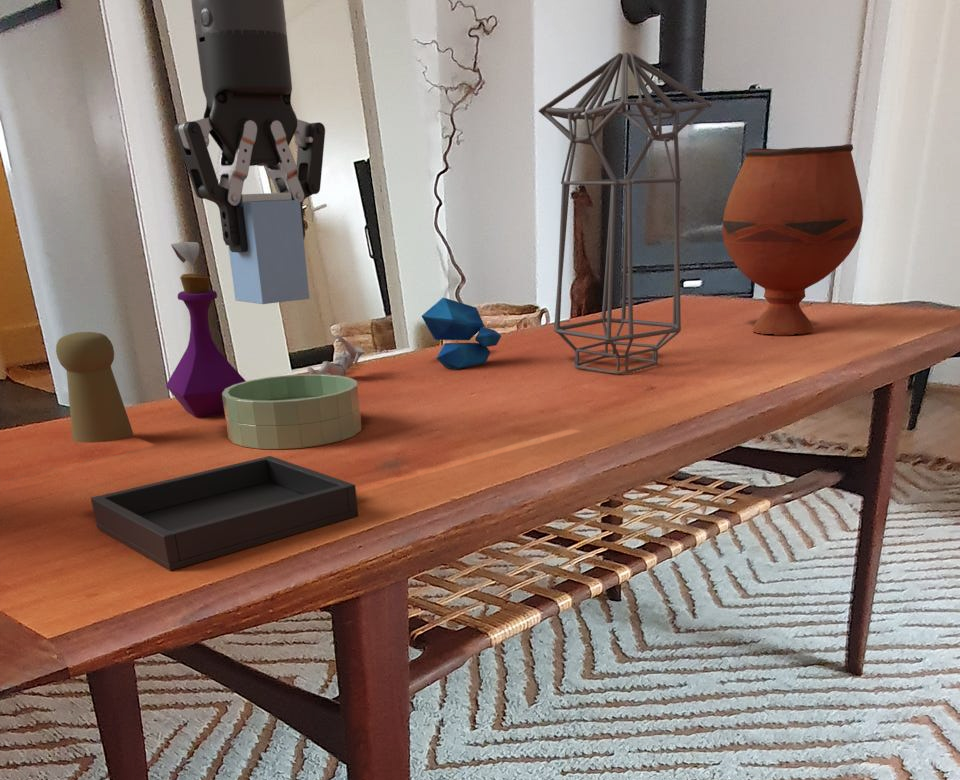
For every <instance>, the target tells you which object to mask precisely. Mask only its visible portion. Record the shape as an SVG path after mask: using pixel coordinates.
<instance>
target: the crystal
mask: <svg viewBox="0 0 960 780" xmlns="http://www.w3.org/2000/svg"><path fill="white" fill-rule="evenodd" d="M421 318H422V320H423V322H424V324H425V325H426V327H427V329H428V331H429V332H430V335H431V336H432V339H433V340H435V341H470V340H472V338H473V337H475V341H476V342H445V343H444V344H443V345H442V348H441V349H440V351H439V352H438V355H437V356H436V359H437V361H438V362H439V363H440V364H441V365H442V366H443V367H444V368H445V367H446V369H451V368H452V369H453V370H462V369H461V368H463V369H467V368H471V367H470V366H472V367H475V366H474V365H476V366H479V365H478V364H481V365H483V364H482V363H485V364H486V363H487V361H488V359H489V356H490V354H491V351H490V349H489V348H488V347H494V346H497V345H498V343H499V342H500V340H501V338H502V335H501V334H500V333H499V332H498V331H496V330H495V329H492V328H489V327H485V324H484V322H483V319H482V317H481V315H480V313H479V310H478V308H477V307H476V306H472V305H469V304H466V303H464V302H459V301H456V300H453V299H450V298H447V297H441V298H440V299H439V300H438V301H437V302H436V303H434V305H432V306H430V308H428V310H427V311H425V312H424V313H423V314H422V315H421ZM475 335H476V336H475ZM466 367H467V368H466ZM452 369H451V370H452Z"/></svg>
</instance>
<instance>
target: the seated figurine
mask: <svg viewBox="0 0 960 780" xmlns="http://www.w3.org/2000/svg"><path fill="white" fill-rule="evenodd" d="M333 338H336V339H337V340H335V343H342V345H343V347H344V350H343V351H342V352H340V353H339V354H338V355H336V356H335V358H334V359H333V361H332V362H330V361H329V360H326V361H325V360H324V361H322V363H321V365H320V368H319V370H316V369H314V368H313V367H311V366H309V367H308V368H307V372H308V374H327V375H339V376H344V377H346V375H347V372H348V371H349V369H350V368H351V367H353V366H354V364H355V365H357V364H358V361H359V359H360V357H361V356H363V355H364V354H365V353H366V351H365V350H364V349H362V348H361V347H358V346H355V345H353V344H351V343H350V342H349V341H348V340H346V339H345V338H343V337H342V336H339V335H334V336H333Z"/></svg>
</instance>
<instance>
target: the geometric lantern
mask: <svg viewBox="0 0 960 780" xmlns="http://www.w3.org/2000/svg"><path fill="white" fill-rule="evenodd" d="M628 67H629V69H630V71H631V73H632V75H633V77H634V79H635V84H636V89H637V94H638V95H637V96H638V98H637V99H636V101H628V89H629V88H628V83H629V82H628V80H629V79H628V75H629V72H628V71H629V69H628ZM620 71H621V81H620V82H621V86H620V87H621V88H620V100H619V101H615V96H616V91H617V88H618V87H617V86H618V82H619V77H620ZM646 72H648V73H649V74H651V75H652V76H654V77H656V78H657V79H659V80H661V81H662V82H664V83H666V84H668V85H669V86H671V87H672V88H674V89H676V90H677V91H679V92H681V93H682V94H684V95H686V96H687V97H689V98H691V99H692V100H693V101H695V102H697V103H692V104H688V105H683V106H679V107H677V106H676V105H675V104H674V102H673V101H672V100H671V99H670V98H669V97H668V95H667V94H666V93H665V92H663V90H662V89H661V88H660V87H659V85H657V83H655V82H654V80H653V79H652V78H651V77H650V76H649V74H647V73H646ZM597 77H598V78H597ZM596 78H597V79H596ZM614 78H615V80H614ZM594 79H596V80H595V81H594ZM592 81H594V82H593V84H591V86H590V87H589V89H588V90H587V91H586V92H585V94H583V96H582V97H581V98H580V100H578V103H576V105H575V106H574V107H568V108H563V107H555V106H556V105H557V104H559V103H560V102H562V101H563V100H564V99H566V98H568V97H569V96H570V95H572V94H573V93H575V92H576V91H578V90H580V89H581V88H582V87H584V86H586V85H587V84H589V83H590V82H592ZM613 81H614V86H613V91H612V96H611V101H610V103H609V104H605V105H603V103H604V101H605V98H606V96H607V94H608V92H609V90H610V88H611V85H612V83H613ZM645 83H646V84H645ZM646 85H647V86H648V87H649V89H651V91H652V92H653V93H654V94H655V96H656V97H657V98H658V99H659V101H660V102H661V103H662V104H663V105H664V106H657V104H656V102H655V100H654V99H653V97H652V95H651V94H650V92H649V90H648V88H647V86H646ZM642 95H643V97H644V98H645V99H643V97H642ZM595 105H596V106H595ZM627 106H636V107H637V108H638V110H639V111H638V110H630V109H627ZM712 106H713V103H711V102H710V101H708V100H706V99H705V98H703V97H702V96H700V95H699V94H697V93H696V92H694V91H692V90H691V89H689V88H688V87H686V86H685V85H683V84H682V83H680V82H678V81H677V80H675V79H674V78H673V77H672V76H670V75H668V74H666V73H664V72H663V71H661V70H660V69H658V68H657V67H656V66H654V65H652V64H650V63H649V62H648V61H646V60H645V59H643V58H642V57H640V56H638V55H637V54H636V53H633V52H630V53H629V52H622V53H621V52H618V53H617V54H616V55H615V56H613V57H611V58H610V59H609V60H607V61H606V62H604V63H603V64H602V65H600V66H599V67H598V68H596V69H594V70H593V71H591V72H590V73H588V74H587V75H586V76H585V77H582V79H581V80H579V81H578V82H575V83H574V84H573V85H572V86H571V87H569V88H568V89H566V90H564V91H563V92H562V93H561V94H559V95H558V96H556V97H555V98H553V99H551V101H549V102H548V103H546V104H545V105H543V106H542V107H541V108H539V109H538V113H540V114H541V115H542V116H543V117H545V118H546V119H547V120H548V121H549V122H550V123H551V124H552V125H553V126H555V128H557V129H558V130H559V132H561V133H562V134H563V135H564V136H565V137H566V138H567V139H568V140H569V141H570V142H569V146H568V150H567V153H566V159H565V164H564V168H563V172H562V176H561V181H560V184H561V196H560V197H561V200H560V201H561V202H560V218H559V219H560V220H559V221H560V224H559V245H558V265H557V285H556V298H555V311H554V325H553V331H554V333H556V334H558V336H560V337H561V338H562V340H563V341H564V342H565V343H566V344H567V345H568V346H569V347H570V348H571V349H572V350H573V351H574V364H573V367H574V368H576V369H577V368H579V369H580V370H585V369H586V370H585V371H591V370H593V371H592V372H597V371H600V372H599V373H604V372H608V373H607V374H610V373H615V374H614V375H617V374H622V373H628V374H631V373H634V372H638V371H641V370H645V369H647V368H650V367H654V366H658V365H659V360H658V359H659V350H660V349H661V348H662V347H664V346H665V345H667V343H669V342H670V341H671V340H673V338H675V337H676V336H677V335H679V333H680V332H681V331H682V322H681V321H682V320H681V318H682V316H681V315H682V314H681V312H682V311H681V269H680V267H681V264H680V261H681V260H680V202H681V201H680V199H681V196H680V195H681V181H682V178H681V170H680V169H681V168H680V153H679V152H680V150H679V133H680V132H682V130H683V129H684V128H685V127H687V125H689V124H690V123H691V122H692V121H693V120H695V119H696V118H697V117H698V116H699V115H700V114H701V113H702V112H704V111H705V110H706V109H707V108H708V109H709V108H711V107H712ZM645 108H648V109H649V112H648V111H646V109H645ZM689 111H693V112H692V113H691V114H689V115H688V117H686V119H684V120H683V121H682V122H681V123H680V113H684V112H689ZM583 113H584V114H583ZM662 113H663V114H662ZM616 115H623V117H625V118H626V119H627V120H628V121H630V122H631V123H632V124H633V125H634V126H635V127H636V128H637V129H638V130H640V131H641V133H643V135H645V136H646V137H647V138H648V140H647V141H646V143H645V144H644V146H643V147H642V149H641V151H640V153H639V154H638V156H637V157H636V159H635V160H634V162H633V164H632V166H631V167H630V169H629V171H628V172H627V174H626V175H625V176H624V178H619V179H617V177H616V175H615V173H614V172H613V169H612V168H611V166H610V164H609V162H608V160H607V158H606V156H605V154H604V152H603V150H602V149H601V146H600V144H599V142H598V140H597V139H598V137H599V135H601V133H602V131H603V129H604V128H605V127H606V125H607V124H608V123H609V122H610V121H611V119H613V117H615V116H616ZM604 116H605V117H604ZM555 117H556V118H560V119H566V120H568V128H569V129H568V128H566V127H565V126H564V125H563V124H562V123H560V121H558V120H557V119H555ZM601 117H604V118H603V120H602V121H600V123H598V124H597V126H596V127H595V126H594V125H595V121H596V119H597V118H601ZM635 117H642V118H643V120H644V122H645V124H646V126H647V128H648V129H647V128H646V127H645V126H644V125H642V124H641V123H640V122H639V121H638V120H637V119H636V118H635ZM650 118H651V119H654V120H655V121H656V126H655V127H654V125H653V122H652V120H651V119H650ZM668 119H669V120H670V119H673V125H672V131H670V132H665V133H663V130H662V129H663V128H662V127H663V125H662V123H663V122H662V121H663V120H668ZM578 120H584V124H585V131H586V135H582V136H577V121H578ZM589 120H590V123H589ZM679 123H680V124H679ZM594 127H595V128H594ZM654 141H657V142H663V143H664V144H663V145H664V147H665V152H666V156H667V162H668V167H669V169H670V174H671V177H661V178H659V177H658V178H633V176H634V175H635V173H636V172H637V170H638V168H639V166H640V164H641V162H642V161H643V159H644V157H645V156H646V154H647V153H648V150H649V149H650V147H651V145H652V143H653V142H654ZM670 141H673V150H674V151H673V153H674V167H673V164H672V159H671V155H670V154H671V153H670V151H669V146H668V143H669V142H670ZM577 144H583V145H588V146H591V148H592V149H593V151H594V153H595V155H596V156H597V158H598V161H600V163H601V165H602V166H603V169H604V170H605V172H606V173H607V175H608V177H609V178H608V179H607V178H606V179H590V180H571V178H572V177H571V176H572V171H573V166H574V159H575V154H576V149H577ZM674 169H675V172H674ZM565 178H566V179H565ZM662 183H664V184H665V183H666V184H667V183H673V213H674V214H673V219H674V220H673V221H674V223H673V225H674V239H673V240H674V241H673V242H674V245H673V290H672V291H673V293H672V294H673V296H672V297H673V299H672V322H663V321H653V320H641V319H634V297H633V296H634V290H633V289H634V288H633V287H634V285H633V284H634V283H633V282H634V281H633V277H634V276H633V275H634V274H633V185H635V184H636V185H637V184H662ZM591 185H592V186H602V185H603V186H605V185H606V186H610V197H609V198H610V199H609V212H608V213H609V214H608V223H607V224H608V227H607V241H606V254H605V268H604V269H605V270H604V283H603V294H602V295H603V296H602V297H603V298H602V309H601V318H597V319H591V320H587V321H581V322H576V323H569V324H565V325H561V312H562V311H561V310H562V291H563V290H562V289H563V288H562V287H563V273H564V261H565V251H566V249H565V248H566V239H567V237H566V236H567V226H568V225H567V224H568V213H569V199H570V187H571V186H591ZM617 186H625V188H624V209H623V211H624V212H623V247H622V248H623V250H622V251H623V252H622V253H623V254H622V288H621V289H622V291H621V292H622V293H621V318H613V317H612V316H613V293H614V292H613V290H614V265H615V264H614V263H615V240H616V239H615V235H616V212H617V210H616V209H617V208H616V207H617ZM627 309H628V311H627ZM626 312H627V313H626ZM626 314H628V315H627V317H628V318H626ZM614 323H615V324H619V326H618V329H617V331H616V335H615V336H612V324H614ZM597 324H602V326H603V327H602V328H603V332H604V335H600V334H594V333H588V332H580V331H574V330H570V329H576V328H581V327H586V326H591V325H597ZM624 324H628V334H624V335H623V334H622V335H620V333H621V332H622V328H623V327H624ZM634 325H642V326H651V327H660V328H661V327H662V328H666V329H660V330H653V331H647V332H640V333H634ZM670 334H671V335H670ZM661 335H663V336H662V337H661V339H660V340H658V342H657V343H656V344H647V343H636V342H633V341H634V340H637V339H643V338H650V337H655V336H661ZM669 335H670V336H669ZM567 336H572V337H580V338H586V339H593V340H598V341H601V342H597V343H593V344H588V345H584V346H581V347H576V346H575V344H573V343H572V341H570V339H569V338H568V337H567ZM626 340H629V341H628V342H624V341H626ZM609 345H611V348H612V353H609V352H608V349H609ZM599 346H604V352H603V351H596V350H589V349H591V348H595V347H599ZM617 346H627V347H626V350H625V352H624V354H620V353H619V351H618V349H617ZM631 347H637V348H638V347H640V348H647V349H642V350H637V351H632V352H630V350H631ZM651 352H652V358H644V357H637V356H636V355H640V354H641V355H642V354H646V353H651ZM580 353H584V354H590V355H597V357H594V358H590V359H587V360H583V361H580ZM609 358H611V359H612V358H615V359H616V370H609V369H604V368H596V367H591V366H584V365H586V364H589V363H592V362H595V361H600V360H603V359H609ZM620 359H625V360H624V361H625V362H624V370H622V371H620V370H621V368H620V367H621V366H620V365H621V361H620ZM629 360H634V361H639V362H647V363H648V364H644V365H641V366H637V367H635V368H634V367H633V368H631V369H629ZM579 369H578V370H579ZM640 369H641V370H640ZM637 370H638V371H637ZM633 371H634V372H633ZM630 372H631V373H630ZM622 375H623V374H622Z"/></svg>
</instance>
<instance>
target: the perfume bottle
mask: <svg viewBox="0 0 960 780" xmlns="http://www.w3.org/2000/svg"><path fill="white" fill-rule="evenodd" d="M171 248H172V250H173V251H174V253H175V255H176V257H177V258H178V259H179V260H180V262H182V263H183V264H185V262H188V263H189V264H190V265H191V271H192V273H183V274H182V275H181V276H179V279H180V281H181V284H182V288H183V291H179V292H178V293H177V300H179V301H182V302H183V304H184V305H185V307H186V308H187V310H188V313H189V317H190V319H189V320H190V322H189V323H190V332H189V340H188V342H187V343H188V344H187V347H186V349H185V351H184V353H183V355H182V357H181V358H180V360H179V362H178V364H177V365H176V367H175V369H174V371H173V372H172V374H171V376H170V377H169V379H168V380H167V382H166V385H165V386H166V388H167V390H168V391H170V393H171V394H172V395H173V397H174V398H175V399H176V400H177V401H178V403H179V404H180V405H181V406H182V408H183V409H184V410H185V411H186V412H187V413H188V414H190V415H191V416H192V417H194V418H196V419H202V418H208V417H215V416H222V415H225V412H224V405H223V398H222V392H223V391H224V389H226V388H228V387H230V386H232V385H235V384H238V383H242V382H245V381H246V379H245V378H244V377H243V376H242V374H240V373H239V372H238V371H237V369H236V368H235V367H234V366H232V364H231V363H230V361H228V359H227V358H226V357H225V355H223V353H222V352H221V351H220V349H218V346H217V345H216V343H215V341H214V339H213V335H212V333H211V328H210V322H209V309H210V306H211V304H212V301H213V300H215V299H217V298H218V293H217V291H215V290H213V289H210V277H209V276H208V275H207V274H202V273H197V272H196V270H195V269H196V268H195V262H196V260H197V259H198V257H199V255H200V244H199V242H196V241H181V242H176V243H171Z"/></svg>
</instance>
